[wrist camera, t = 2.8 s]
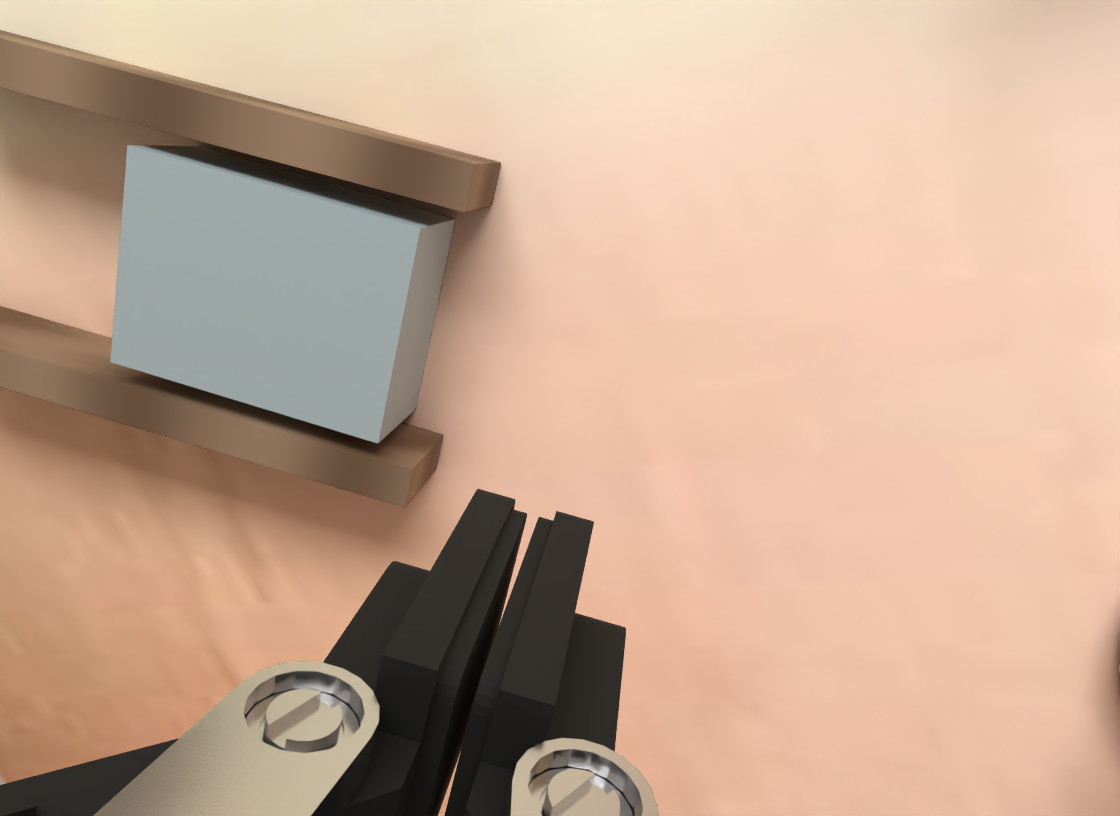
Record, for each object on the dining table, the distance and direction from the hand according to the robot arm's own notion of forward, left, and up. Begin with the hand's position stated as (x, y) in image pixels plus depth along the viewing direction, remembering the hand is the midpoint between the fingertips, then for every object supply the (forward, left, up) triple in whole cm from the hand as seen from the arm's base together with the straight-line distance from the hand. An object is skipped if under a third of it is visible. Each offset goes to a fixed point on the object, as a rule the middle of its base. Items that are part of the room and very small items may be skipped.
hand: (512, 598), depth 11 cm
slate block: (+9, 0, -14) cm, 17 cm away
